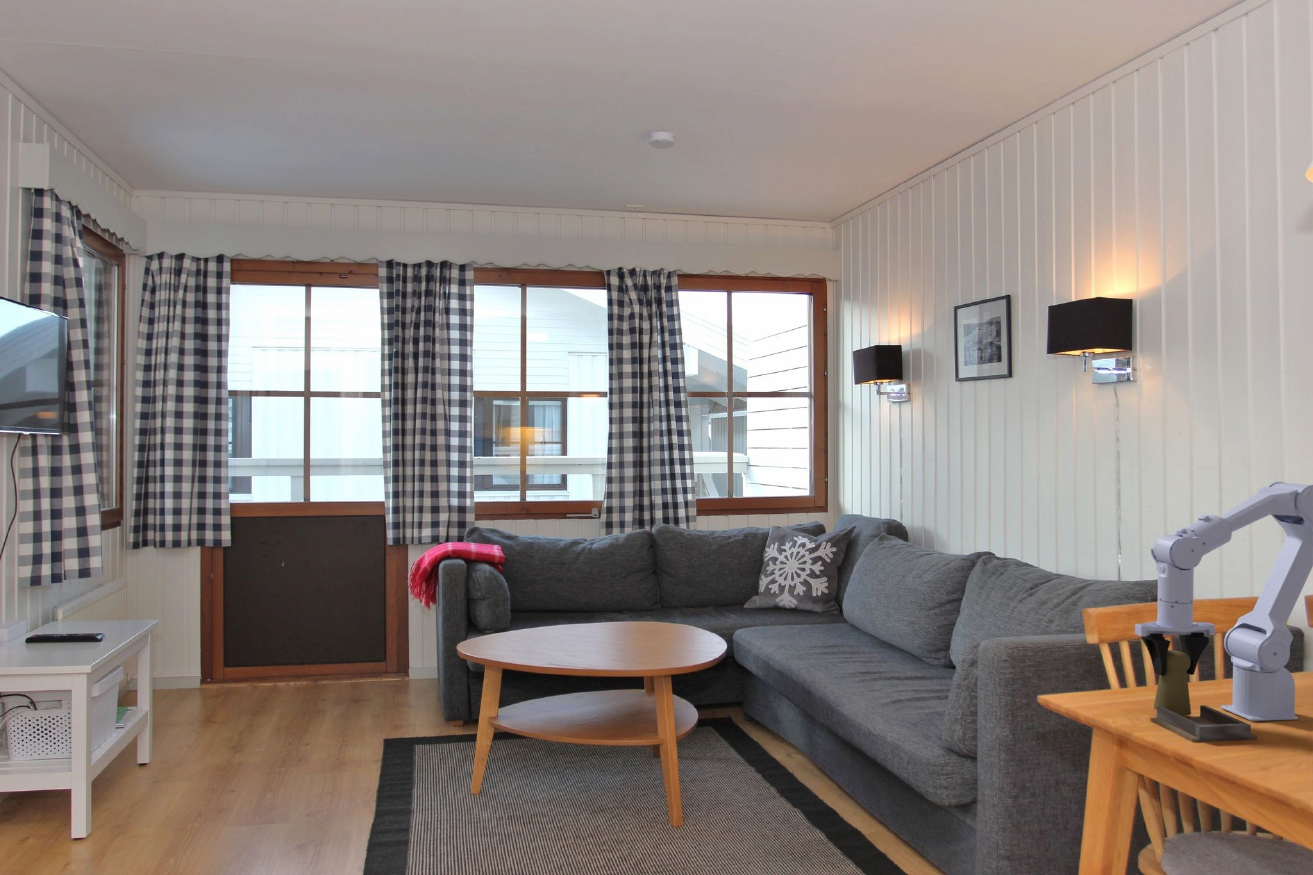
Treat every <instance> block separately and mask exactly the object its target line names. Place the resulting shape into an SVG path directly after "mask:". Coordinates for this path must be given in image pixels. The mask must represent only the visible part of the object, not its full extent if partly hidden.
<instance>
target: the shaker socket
mask: <svg viewBox="0 0 1313 875" xmlns="http://www.w3.org/2000/svg"><path fill="white" fill-rule="evenodd" d="M1149 721H1151V723H1154V724H1156V725H1158V726H1160V727H1163V728H1164V729H1166V730H1168V731H1170V732H1172V733H1174V734H1177V735H1178V736H1180V737H1182V738H1184V739H1186V740H1188V741H1189V742H1194V743H1195V742H1196V743H1197V742H1200V743H1201V742H1222V741H1223V742H1224V741H1251V740H1253V741H1254V740H1258V736H1257V735H1255V734H1252V733H1251V732H1252V731H1251V730H1252V725H1251V724H1249V723H1247V722H1245V721H1242V720H1241V719H1238V718H1235V717H1233V716H1231V715H1228V714H1226V713H1223V712H1221V711H1219V710H1217V709H1214V708H1212V707H1210V706H1208V705H1205V704H1204V705H1200V706H1199V716H1182V715H1179V714H1177V713H1174V712H1172V711H1170V710H1168V709H1166V708H1164V707H1157V710H1156V717H1150V720H1149Z"/></svg>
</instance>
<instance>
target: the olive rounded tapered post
mask: <svg viewBox="0 0 1313 875" xmlns="http://www.w3.org/2000/svg"><path fill="white" fill-rule="evenodd" d="M1190 664H1191V661H1190V658H1189V656H1188V655H1187V654H1186V653H1184V652H1182V651H1181V650H1175V649H1168V652H1167V658H1166V673H1165V676H1161V675H1159V677H1158V683H1157V688H1156V691H1155V692H1156V693H1155V698H1154V703H1153V708H1154V710H1156V711H1157V707H1164V708H1166V709H1168V710H1170V711H1172V712H1174V713H1177V714H1179V715H1181V716H1183V717H1185V716H1191V714H1192V709H1191V700H1190V691H1189V682H1188V674H1187V670H1188V669H1189V667H1190Z"/></svg>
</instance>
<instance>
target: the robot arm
mask: <svg viewBox="0 0 1313 875" xmlns="http://www.w3.org/2000/svg"><path fill="white" fill-rule="evenodd" d="M1268 516H1271V517H1272V518H1273V519H1274V520H1275V522H1277V523H1278V525H1279V526H1280V527H1281V528H1282V529H1283V531H1284V532H1285V534H1286V539H1285V541H1284V542H1283V546H1282V548H1281V549H1280V551H1279V554H1278V556H1277V558H1276V560H1275V562H1274V564H1273V566H1272V569H1271V571H1270V573H1269V575H1268V578H1267V579H1266V580H1265V581H1266V582H1265V584H1264V586H1263V588H1262V590H1261V591H1260V594H1259V597H1258V598H1257V600H1256V603H1255V604H1254V608H1253V609H1252V611H1250V612H1248V613H1246V614H1244V615H1242V616H1240V617H1238V619H1237V621H1236V624H1235V625H1234V626H1232V627H1231V628H1230V629H1229V630H1228V631H1227V632H1226V634H1225V636H1224V638H1223V647H1224V650H1225V652H1226V653H1227V654H1228V655H1229V656H1230V662H1231V663H1232V704H1224V705H1223V704H1221V706H1220V708H1221V709H1223V710H1226V711H1228V712H1229V713H1233V714H1235V715H1237V716H1239V717H1242V718H1244V719H1247V720H1249V721H1253V722H1259V721H1260V722H1261V721H1264V722H1265V721H1286V720H1287V721H1293V720H1294V721H1295V720H1298V719H1299V717H1298V716H1297V715H1295V714H1296V709H1295V708H1296V705H1295V704H1296V682H1295V679H1294V676H1293V675H1292V673H1291V672H1290V671H1289V670H1288V669H1287V668H1285V666H1286V665H1287V664H1288V662H1289V660H1290V656H1291V649H1290V648H1291V644H1292V641H1293V640H1294V636H1293V634H1292V632H1291V631H1290V630H1289V628H1288V627H1287V622H1288V620H1289V619H1290V617H1291V614H1292V611H1293V609H1294V608H1295V606H1296V603H1297V601H1298V599H1299V598H1300V597H1299V596H1300V594H1301V592H1302V591H1303V588H1304V586H1305V584H1306V582H1307V580H1308V578H1309V576H1310V573H1311V571H1312V569H1313V484H1299V483H1291V482H1290V483H1287V482H1283V481H1275V482H1272V483H1269V484H1268V485H1267V486H1263V487H1260V488H1259V489H1258V491H1257V493H1256V494H1253V495H1252V496H1251V497H1250V498H1247V499H1245V501H1242V502H1241V503H1240V504H1237V505H1236V506H1235V507H1233V508H1231V509H1229V510H1228V511H1227V512H1225V513H1223V514H1222V515H1220V516H1218V515H1214V514H1208V515H1207V514H1202V515H1200V516H1198V517H1197V519H1198V521H1195V522H1194V523H1191V524H1189V525H1187V526H1186V527H1185V528H1183V527H1180V528H1178V529H1176V532H1175V533H1174V535H1173V534H1164V535H1161V536H1160V537H1158V538H1157V540H1155V542H1154V544H1153V547H1152V548H1150V554H1151V557H1152V559H1153V560H1154V561H1155V564H1156V571H1157V611H1156V612H1157V617H1156V618H1157V620H1156V621H1151V622H1144V623H1134V635H1137V636H1139V637H1140V638H1141V640H1142V642H1143V643H1144V645H1145V647H1146V649H1147V651H1148V654H1149V656H1150V659H1151V663H1152V666H1153V667H1152V668H1153V671H1154V672H1153V673H1154V674H1157V675H1158V676H1160V675H1161V676H1165V673H1166V658H1167V652H1168V650H1169V648H1170V645H1171V641H1170V640H1169V639H1165V637H1164V636H1178V637H1179V641H1180V645H1181V652H1184V653H1186V654H1187V655H1188V656H1189V658H1190V661H1191V664H1190V667H1189V669H1188V670H1187V675H1191V676H1194V675H1195V672H1196V669H1197V666H1198V663H1199V661H1200V658H1201V655H1202V654H1203V652H1204V650H1205V649H1206V648H1207V646H1208V645H1209V643H1210V638H1209V637H1208V636H1215V635H1216V624H1213V623H1211V622H1207V621H1206V622H1200V621H1199V622H1197V621H1194V571H1195V570H1194V569H1195V568H1196V567H1198V565H1200V563H1201V562H1202V558H1203V557H1204V556H1206V555H1208V553H1210V552H1213V551H1214V550H1216V549H1218V548H1220V547H1222V546H1223V545H1226V544H1227V543H1229V542H1231V540H1232V536H1233V533H1234V532H1236V531H1237V530H1240V529H1243V528H1245V527H1246V526H1248V525H1251V524H1252V523H1255V522H1257V521H1260V520H1261V519H1263V518H1266V517H1268ZM1205 635H1208V636H1205Z"/></svg>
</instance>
